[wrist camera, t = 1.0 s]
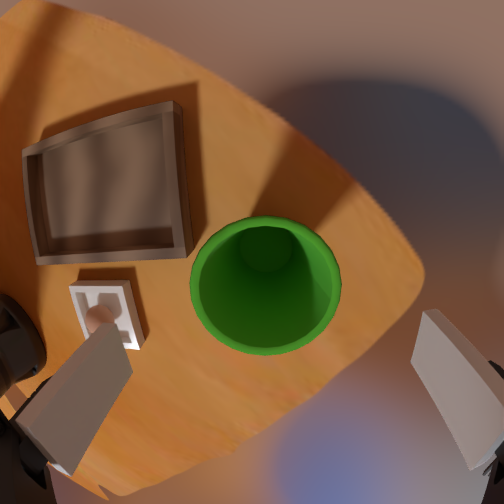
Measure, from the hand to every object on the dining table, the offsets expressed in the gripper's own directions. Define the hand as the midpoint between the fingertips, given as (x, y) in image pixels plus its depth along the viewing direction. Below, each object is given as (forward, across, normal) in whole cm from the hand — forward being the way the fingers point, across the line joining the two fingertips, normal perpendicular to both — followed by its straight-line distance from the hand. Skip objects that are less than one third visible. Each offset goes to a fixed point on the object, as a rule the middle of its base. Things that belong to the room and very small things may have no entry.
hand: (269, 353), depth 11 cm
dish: (+16, -19, -7) cm, 26 cm away
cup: (+17, 0, 0) cm, 17 cm away
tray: (+16, -17, +7) cm, 25 cm away
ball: (+16, -19, -7) cm, 26 cm away
